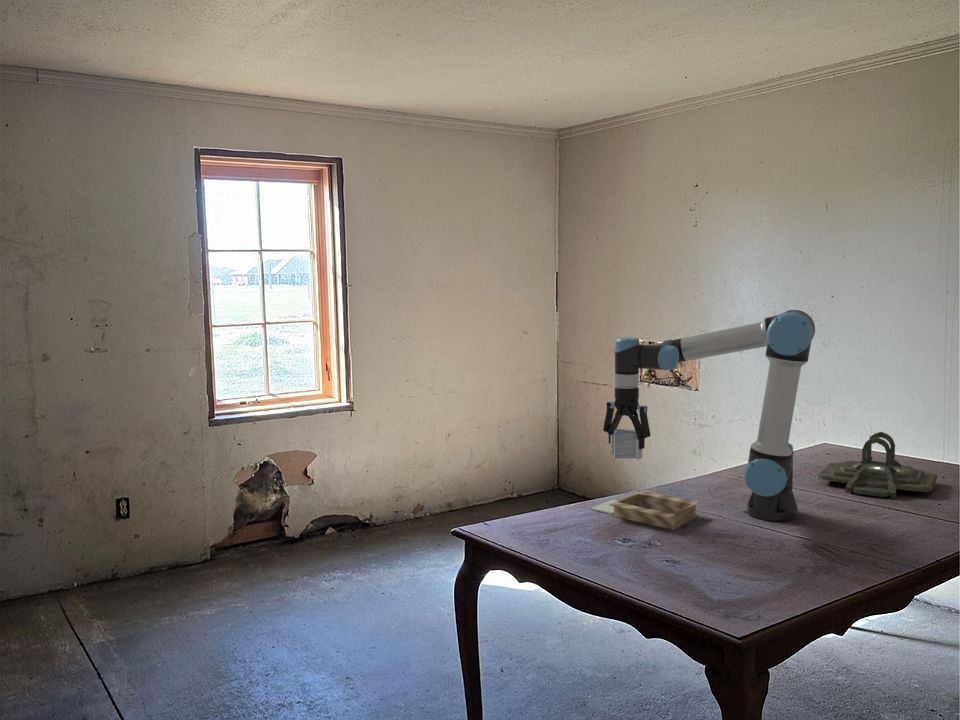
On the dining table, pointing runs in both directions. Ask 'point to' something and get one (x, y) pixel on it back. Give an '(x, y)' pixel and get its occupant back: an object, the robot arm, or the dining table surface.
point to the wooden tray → (656, 509)
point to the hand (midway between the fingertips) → (626, 456)
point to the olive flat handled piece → (878, 472)
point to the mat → (605, 507)
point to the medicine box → (625, 443)
